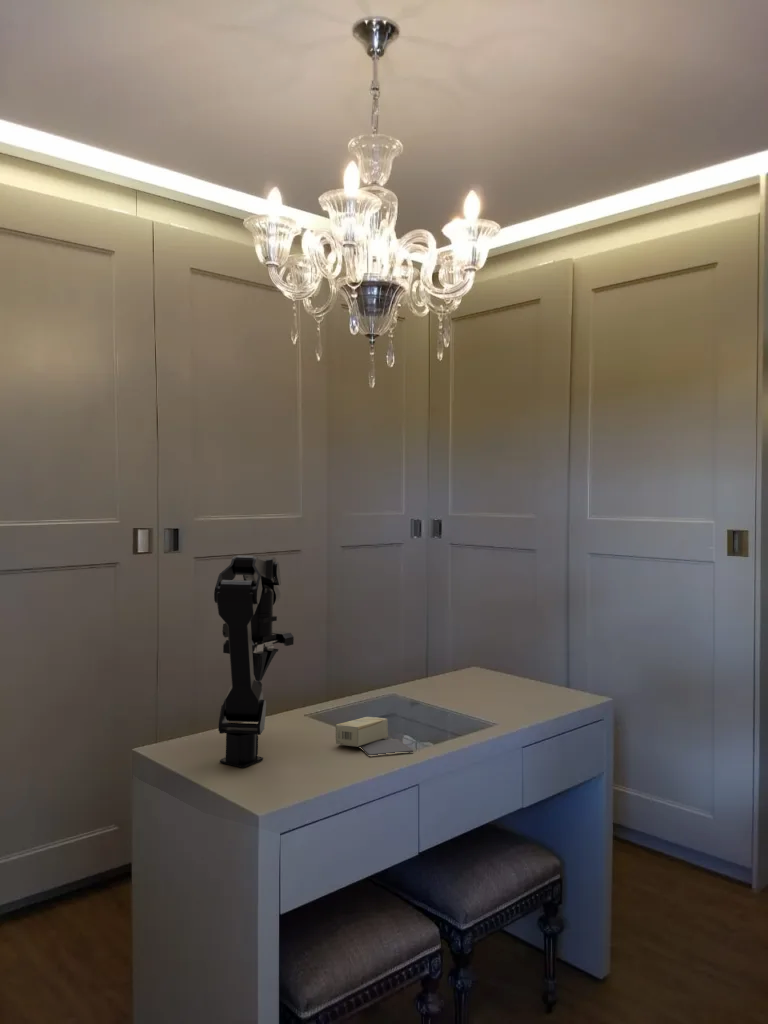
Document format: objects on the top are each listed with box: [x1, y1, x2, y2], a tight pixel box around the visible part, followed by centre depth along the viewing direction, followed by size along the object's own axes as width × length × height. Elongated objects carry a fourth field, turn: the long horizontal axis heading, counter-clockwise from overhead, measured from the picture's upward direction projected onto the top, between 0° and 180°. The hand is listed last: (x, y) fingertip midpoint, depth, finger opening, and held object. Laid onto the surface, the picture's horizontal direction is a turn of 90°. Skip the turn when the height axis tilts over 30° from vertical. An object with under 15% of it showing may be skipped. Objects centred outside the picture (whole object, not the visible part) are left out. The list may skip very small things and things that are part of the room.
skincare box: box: [335, 716, 389, 748], centre depth 173 cm, size 6×4×12 cm
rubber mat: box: [358, 738, 414, 756], centre depth 169 cm, size 10×9×1 cm
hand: (258, 680), depth 175 cm, fingers closed
